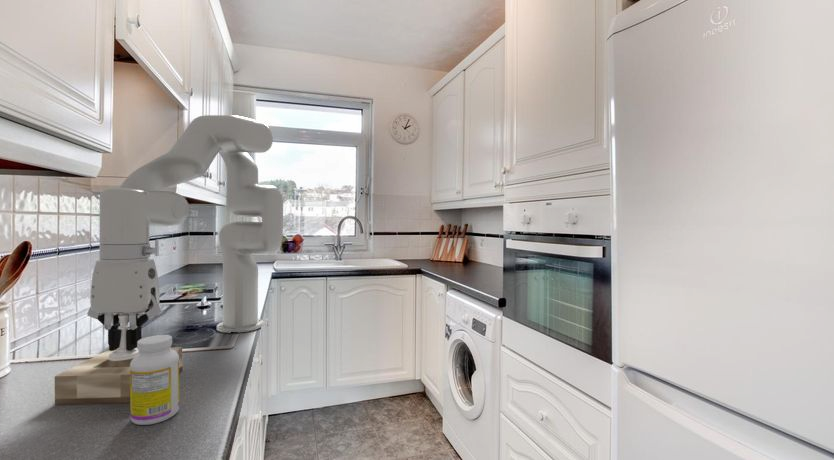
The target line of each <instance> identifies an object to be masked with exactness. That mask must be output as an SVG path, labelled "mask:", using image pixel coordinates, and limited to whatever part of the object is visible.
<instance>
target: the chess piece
mask: <svg viewBox="0 0 834 460" xmlns="http://www.w3.org/2000/svg"><path fill="white" fill-rule="evenodd" d="M118 318H119V320H120V322H121V326H119V327H118V329H120V330H122V332H121V340H120V346H119V348H117V351H114V352H112V353H110V354H109V358H108V359H109V360H111V361H122V360H128V359H132V358H134V357H136V356H137V355H139V351H138V349H137V348H135V349H133V350H131V351H127V350H126V331H127V330H129V329H130V327H129V313H121V314H120V315H118Z"/></svg>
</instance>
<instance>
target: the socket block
mask: <svg viewBox="0 0 834 460" xmlns="http://www.w3.org/2000/svg"><path fill="white" fill-rule="evenodd" d="M171 350H174V351H176V352H177V353H178V355H179V374H180V373H181V372H183V347H182V346H178V347H172V346H171ZM114 351H117V349H116V350H114ZM114 351H109V349H107V350H105V351H104V352H101V353H100V354H97V355H95V356H93V357H91V358H89V359H87V360H85V361H83V362H80V363H79V364H77V365H75V366H72V367H70V368H69V369H67V370H64V371H63V372H61V373H58V374H56V375H55V376H54V406H55V405H56V406H58V405H59V406H60V405H62V406H63V405H66V406H67V405H85V404H86V405H91V404H120V403H121V404H123V403H130V363H131V361H132V359H133V358H132V359H128V360H122V361H111V360H109V359H108V358H109V354H110V353H112V352H114Z"/></svg>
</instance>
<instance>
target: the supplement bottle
mask: <svg viewBox="0 0 834 460" xmlns="http://www.w3.org/2000/svg"><path fill="white" fill-rule="evenodd" d="M172 344H173V336H172V335H170V334H158V335H157V334H156V335H151V336H150V335H149V336H146V337H142V339H140V340H139V341H138V342H137V349H138V351H139V355H137V356H136V357H134V358H133V359H132V361H131V363H130V402H129V403H130V420H131V422H132V423H133V424H135V425H140V426H147V425H155V424H158V423H161V422H164V421H165V422H166V421H167V420H168V419H170V418H172V417H173V416H175V415H176V414H177V413H178V412H179V409H180V373H179V355H178V353H177V352H176V351H174V350H171V347H172Z"/></svg>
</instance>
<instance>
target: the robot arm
mask: <svg viewBox="0 0 834 460" xmlns="http://www.w3.org/2000/svg"><path fill="white" fill-rule="evenodd" d="M273 141H274V139H273V132H272V130H271V128H270V127H269V125H267V123H265V122H263V121H260V120H255V119H253V118H248V117H245V116H239V115H233V114H224V115H223V114H221V115H220V114H218V115H217V114H215V115H214V114H213V115H212V114H211V115H209V114H207V115H206V114H205V115H200V116H197V117H196V118H194V119H193V120H192V121H190V123H189V124H188V126H187V127H186V129H184V131H183V132H182V134H181V135H180V136H179V138H178V139H177V141H176V142H175V143H174V144H173V146H172V148H171V149H170V150H169V151H168V152H166V153H164V154H162V155H160V156H158V157H156V158H154V159H152V160H151V161H149V162H147V163H145V164H144V165H142V166H140V167H138V168H137V169H136V170H134V171H132V172H131V173H130V174H129V175H128V176H127V177H126V178H125V179H124V181H123V182H122V183H121V184H120V186H119V187H107V188H104V189H103V190H102V191H100V193H99V252H98V253H99V255H98V256H99V260H96V262H95V265H94V266H93V267H94V268H93V271H92V272H93V273H92V277H91V285H90V298H89V299H90V302H89V303H90V308H89V309H88V311H87V314H86V315H87V316H88V317H90V318H92V319H95V320H98V321H99V323H101V324H102V325H103V326H104V327H103V328H104V329H105V330H106V331H107V345H108V350H109V351H114V350H116V349H117V348H119V346H120V340H121V332H122V330H120V329H118V327H119V326H121V325H122V324H121V322H120V320H119V318H118V315H120V314H122V313H129V323H128V324H129V327H130V328H129V329H128V330H127V331H126V350H127V351H131V350H133V349H135V348H137V342H138V341H139V340H140V339H142V338H143V337H142V334H143V333H142V332H143V331H142V326H145V324H146V323H147V322H148V321H149V320H151V319H152V318H155V317H157V316H159V315H161V314H162V309H161V307H160V284H159V282H160V281H159V277H158V272H157V271H158V270H157V265H156V262H155V260H154V259H151V258H150V257H151V255H155V254H156V253H157V250H156V247H152V246H151V243H150V227H165V228H167V227H175V226H177V225H180V224H182V223H183V222H184V221H186V220H187V219H188V216H189V214H190V205H189V202H188V201H187V200H186V198H185V197H184V196H183V195H181V194H179V193H177V192H174V191H170V190H169V191H168V190H167V189H168V188H171V187H173V186H177V185H180V184H184V183H187V182H190V181H192V180H195V179H198V178H201V177H202V176H203V175H205V174H206V173H207V171H208V169H209V168H210V166H211V165H212V163H213V161H214V160H215V158H216V157H217V155H218V154H219V156H220V157H221V158H222V161H223V162H224V164H225V169H226V192H225V195H226V196H225V198H226V201H225V203H226V210H227V212H228V213H229V214H230V215H232V216H235V217H243V218H244V217H245V218H261V221H248V220H247V221H244V220H243V221H241V220H240V221H230V222H228V223H225V224H224V225H223V226H222V227H221V228H220V230H219V234H218V241H219V247H220V251H221V258H222V259H221V260H222V321H221V322H219V323H218V324H216V331H217V332H220V333H226V334H232V333H231V332H238V333H246V332H252V331H255V330H258V329H261V328H262V327H263V326H264V320H262V319H260V318H259V308H258V307H259V290H258V289H259V267H258V263H257V261H256V260H255V258H254V257H253V255H273V254H276V253H278V252H279V251H280V249H281V247H282V243H283V231H284V230H283V228H284V199H283V195H282V192H281V191H280V189H279V188H277V187H276V186H274V185H271V184H270V185H269V184H259V168H258V165H257V163H256V162H255V161H254V159H253V158H252V157H251V156H250V153H251V154H252V153H253V154H254V153H258V154H259V153H262V154H263V153H267V151H269V150H270V149H271V148H272V145H273ZM147 310H148V312H146V311H147ZM145 312H146V313H145ZM238 333H237V334H238Z"/></svg>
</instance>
